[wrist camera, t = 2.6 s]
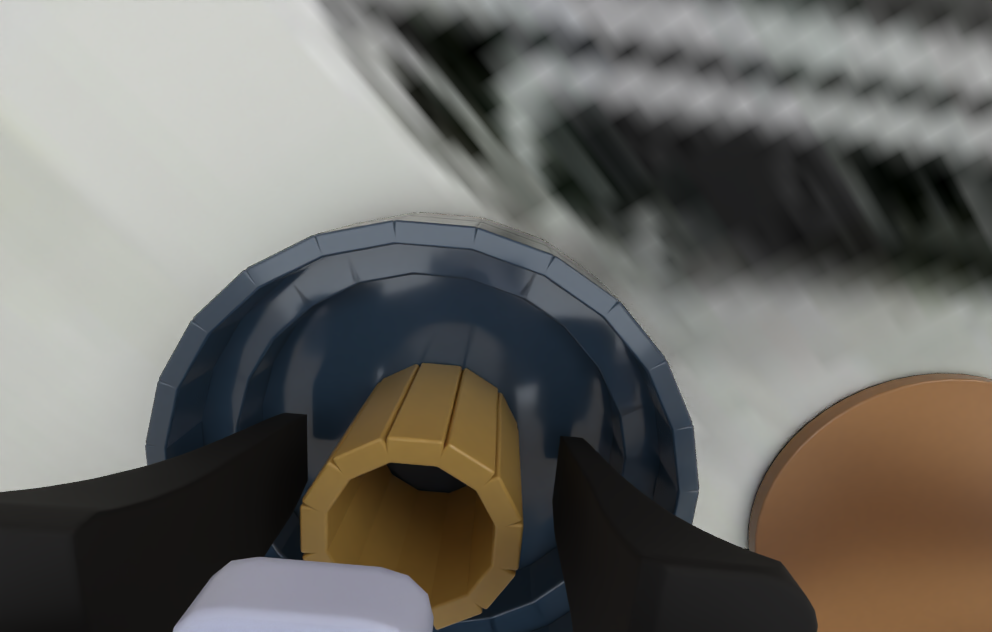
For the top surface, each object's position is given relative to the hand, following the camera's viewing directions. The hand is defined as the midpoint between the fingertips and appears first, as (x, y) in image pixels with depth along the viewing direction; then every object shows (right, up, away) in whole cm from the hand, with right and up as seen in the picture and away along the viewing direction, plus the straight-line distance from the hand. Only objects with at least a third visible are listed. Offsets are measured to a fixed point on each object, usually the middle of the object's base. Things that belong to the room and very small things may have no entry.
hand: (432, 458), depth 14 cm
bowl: (0, 0, +2) cm, 2 cm away
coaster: (+15, -3, +2) cm, 15 cm away
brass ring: (0, 0, +1) cm, 1 cm away
